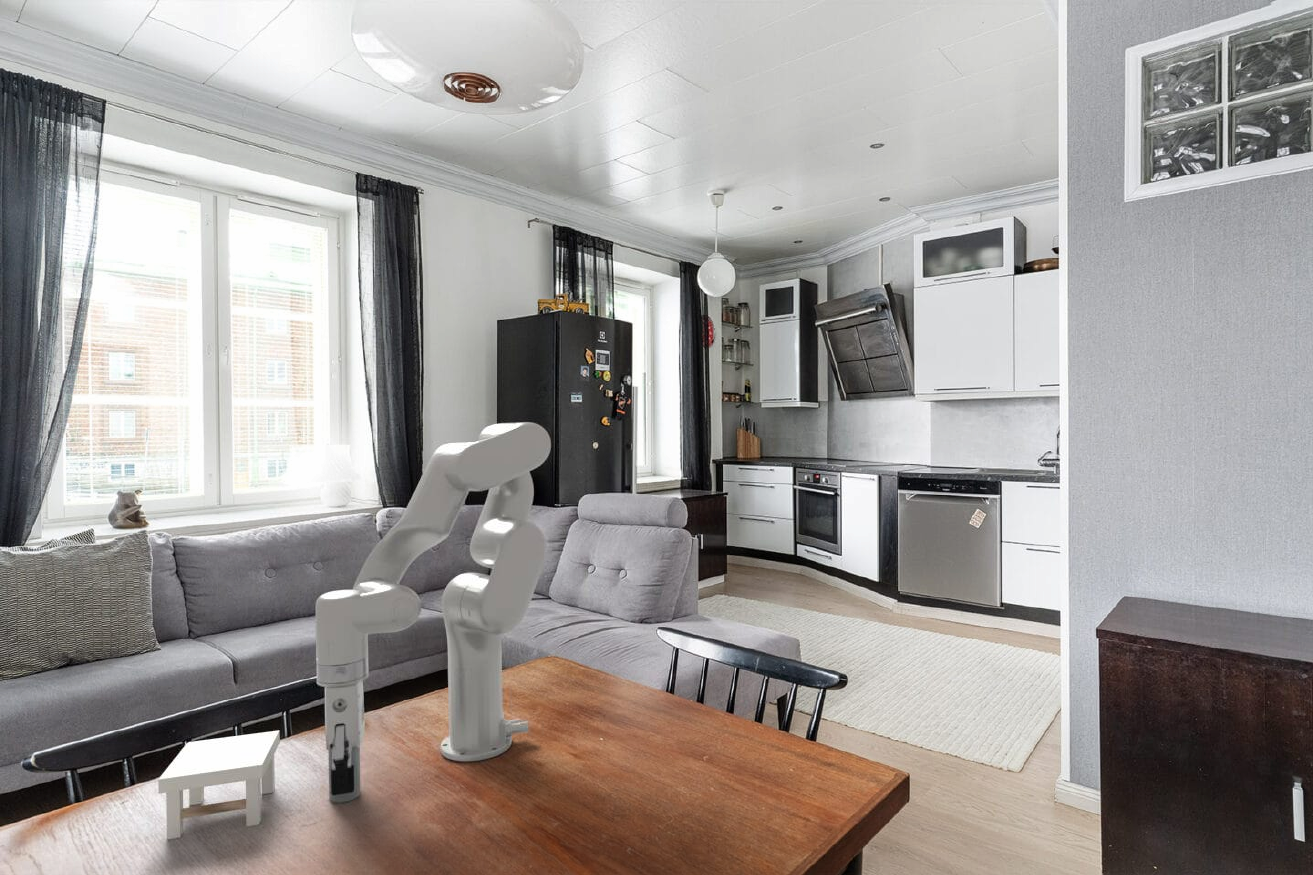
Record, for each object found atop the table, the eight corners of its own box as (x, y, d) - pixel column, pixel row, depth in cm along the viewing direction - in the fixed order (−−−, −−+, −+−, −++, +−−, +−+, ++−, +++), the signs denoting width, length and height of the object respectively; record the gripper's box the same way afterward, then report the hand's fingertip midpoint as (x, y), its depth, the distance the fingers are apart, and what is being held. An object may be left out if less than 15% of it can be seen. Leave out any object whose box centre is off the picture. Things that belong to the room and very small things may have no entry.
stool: (280, 785, 116) (279, 730, 116) (263, 825, 104) (262, 764, 104) (188, 799, 112) (187, 742, 112) (159, 843, 100) (158, 779, 100)
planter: (348, 804, 109) (347, 737, 109) (322, 801, 110) (321, 735, 110) (366, 789, 114) (365, 725, 114) (341, 787, 115) (340, 724, 115)
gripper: (363, 684, 105) (366, 806, 105) (372, 652, 121) (373, 758, 121) (308, 690, 103) (310, 816, 103) (324, 657, 119) (326, 765, 119)
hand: (344, 783), depth 112 cm, fingers closed on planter, 4 cm apart
